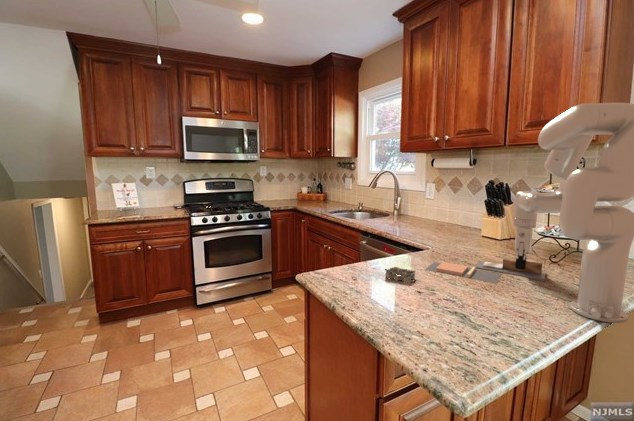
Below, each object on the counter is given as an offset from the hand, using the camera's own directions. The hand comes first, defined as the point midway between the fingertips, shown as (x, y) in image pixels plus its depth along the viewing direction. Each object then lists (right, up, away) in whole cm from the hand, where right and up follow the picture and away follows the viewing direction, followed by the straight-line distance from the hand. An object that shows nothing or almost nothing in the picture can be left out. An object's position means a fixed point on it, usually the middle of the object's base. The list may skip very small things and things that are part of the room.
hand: (520, 267), depth 124 cm
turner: (-3, -1, +3) cm, 4 cm away
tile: (-22, -2, 0) cm, 22 cm away
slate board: (-3, -2, +2) cm, 5 cm away
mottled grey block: (-50, -4, -4) cm, 50 cm away
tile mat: (-23, -3, +1) cm, 23 cm away
